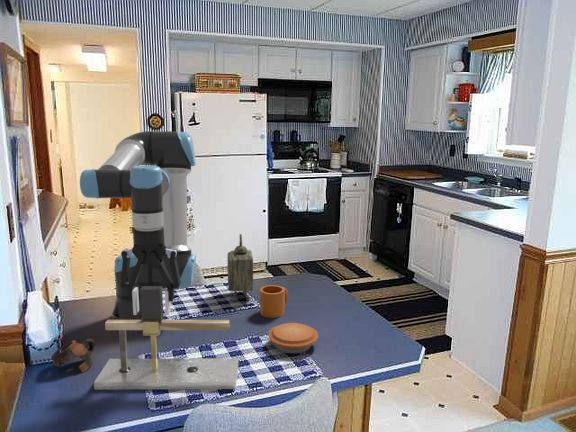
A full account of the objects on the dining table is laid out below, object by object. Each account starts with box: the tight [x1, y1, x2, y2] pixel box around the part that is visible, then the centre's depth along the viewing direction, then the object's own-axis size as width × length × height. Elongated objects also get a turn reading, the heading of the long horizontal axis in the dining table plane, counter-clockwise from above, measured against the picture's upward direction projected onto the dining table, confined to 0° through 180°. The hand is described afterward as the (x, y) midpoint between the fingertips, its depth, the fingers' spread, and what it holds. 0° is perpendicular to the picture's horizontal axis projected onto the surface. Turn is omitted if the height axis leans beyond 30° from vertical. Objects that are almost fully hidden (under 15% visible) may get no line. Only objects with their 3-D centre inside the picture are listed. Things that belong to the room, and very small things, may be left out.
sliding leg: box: [140, 286, 164, 369], centre depth 122 cm, size 5×5×23 cm
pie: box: [267, 322, 319, 355], centre depth 144 cm, size 15×16×5 cm
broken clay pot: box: [50, 338, 96, 374], centre depth 130 cm, size 12×10×8 cm
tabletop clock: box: [227, 233, 254, 302], centre depth 180 cm, size 14×9×25 cm, turn 9°
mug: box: [259, 284, 289, 319], centre depth 168 cm, size 9×12×9 cm
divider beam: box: [104, 319, 231, 371], centre depth 123 cm, size 2×32×14 cm, turn 92°
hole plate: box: [93, 357, 240, 391], centre depth 125 cm, size 12×36×2 cm, turn 92°
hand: (152, 312), depth 121 cm, fingers open, 8 cm apart
